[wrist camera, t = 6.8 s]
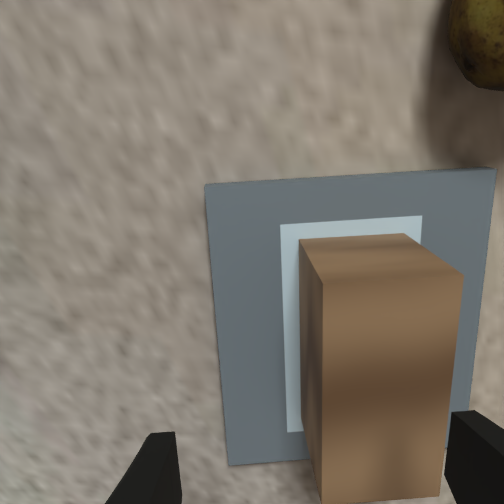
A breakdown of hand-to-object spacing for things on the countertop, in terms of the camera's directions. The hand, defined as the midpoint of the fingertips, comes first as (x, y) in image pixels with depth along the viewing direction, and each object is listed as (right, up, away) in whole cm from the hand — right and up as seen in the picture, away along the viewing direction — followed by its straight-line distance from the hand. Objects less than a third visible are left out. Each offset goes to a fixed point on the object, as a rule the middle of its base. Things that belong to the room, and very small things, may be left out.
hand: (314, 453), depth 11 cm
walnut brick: (+3, +2, +9) cm, 9 cm away
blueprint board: (+3, +2, +9) cm, 10 cm away
